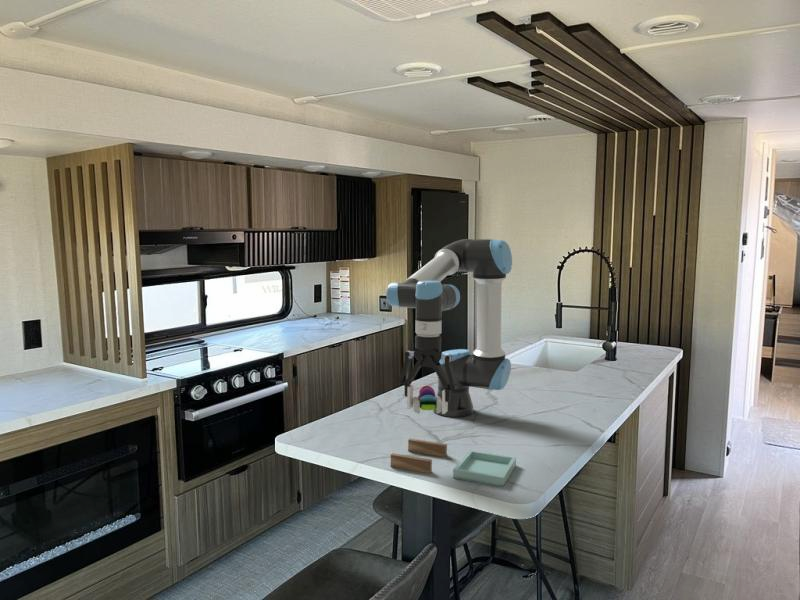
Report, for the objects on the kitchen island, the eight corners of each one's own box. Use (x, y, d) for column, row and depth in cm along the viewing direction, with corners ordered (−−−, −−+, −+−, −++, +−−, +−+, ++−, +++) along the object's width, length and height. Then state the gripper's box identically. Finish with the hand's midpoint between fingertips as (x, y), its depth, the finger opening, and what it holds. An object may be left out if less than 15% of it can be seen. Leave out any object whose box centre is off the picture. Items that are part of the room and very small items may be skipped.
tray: (469, 458, 181) (469, 450, 181) (516, 465, 176) (516, 457, 175) (453, 478, 166) (453, 469, 166) (503, 486, 161) (503, 477, 161)
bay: (410, 449, 188) (410, 438, 188) (446, 455, 183) (446, 444, 183) (390, 466, 174) (390, 454, 174) (429, 473, 170) (429, 461, 169)
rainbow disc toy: (440, 406, 181) (441, 382, 180) (443, 416, 171) (443, 391, 170) (412, 406, 181) (412, 382, 180) (413, 416, 171) (413, 391, 170)
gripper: (387, 333, 175) (386, 408, 177) (461, 340, 165) (460, 418, 168) (397, 329, 181) (397, 401, 184) (470, 335, 172) (468, 411, 175)
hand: (427, 410), depth 176 cm, fingers closed on rainbow disc toy, 10 cm apart
